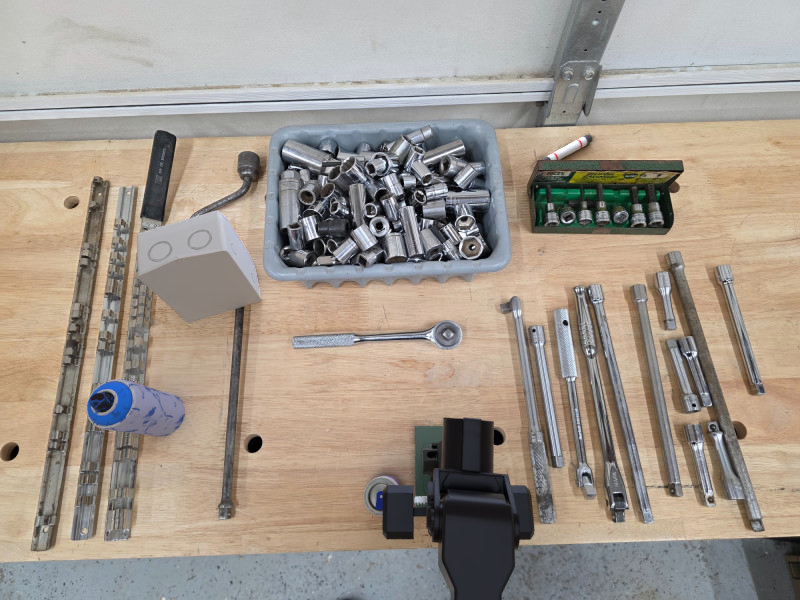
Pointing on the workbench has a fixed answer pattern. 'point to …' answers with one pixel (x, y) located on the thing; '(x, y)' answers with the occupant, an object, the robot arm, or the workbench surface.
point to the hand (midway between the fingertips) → (451, 507)
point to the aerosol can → (134, 409)
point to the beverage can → (377, 493)
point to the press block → (422, 441)
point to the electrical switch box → (198, 266)
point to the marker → (570, 148)
